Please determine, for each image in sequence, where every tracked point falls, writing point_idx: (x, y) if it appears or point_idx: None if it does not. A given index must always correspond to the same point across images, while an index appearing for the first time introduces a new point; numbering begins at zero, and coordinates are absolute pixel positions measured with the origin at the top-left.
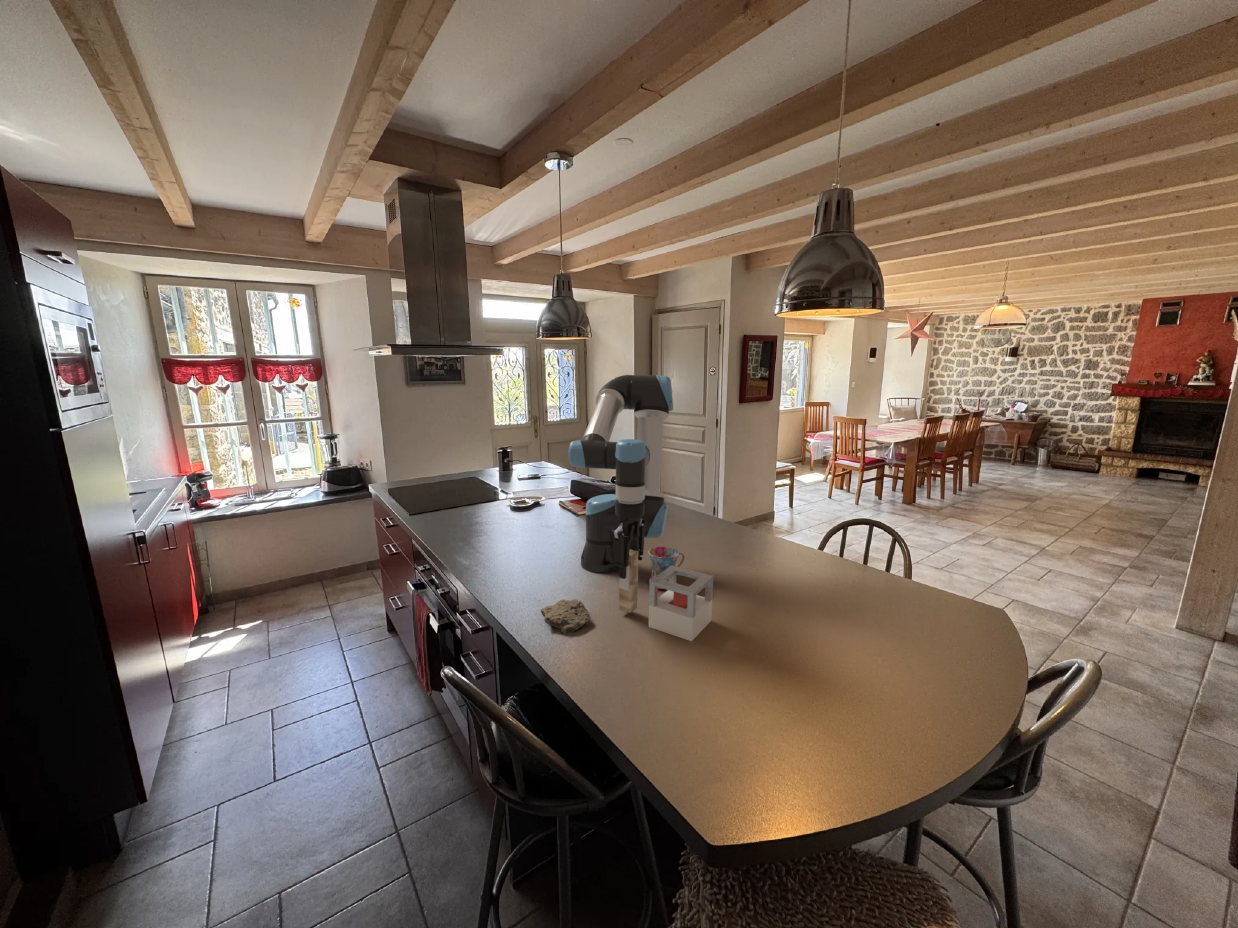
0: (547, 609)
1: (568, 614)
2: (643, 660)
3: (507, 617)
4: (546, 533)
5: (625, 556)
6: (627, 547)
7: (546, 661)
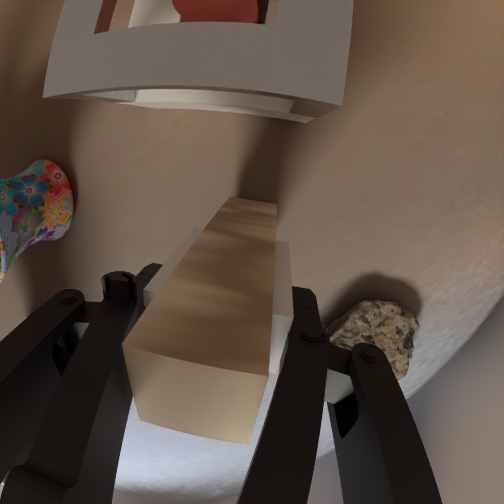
0: None
1: (387, 350)
2: (461, 98)
3: None
4: None
5: (321, 401)
6: (309, 479)
7: (495, 295)
